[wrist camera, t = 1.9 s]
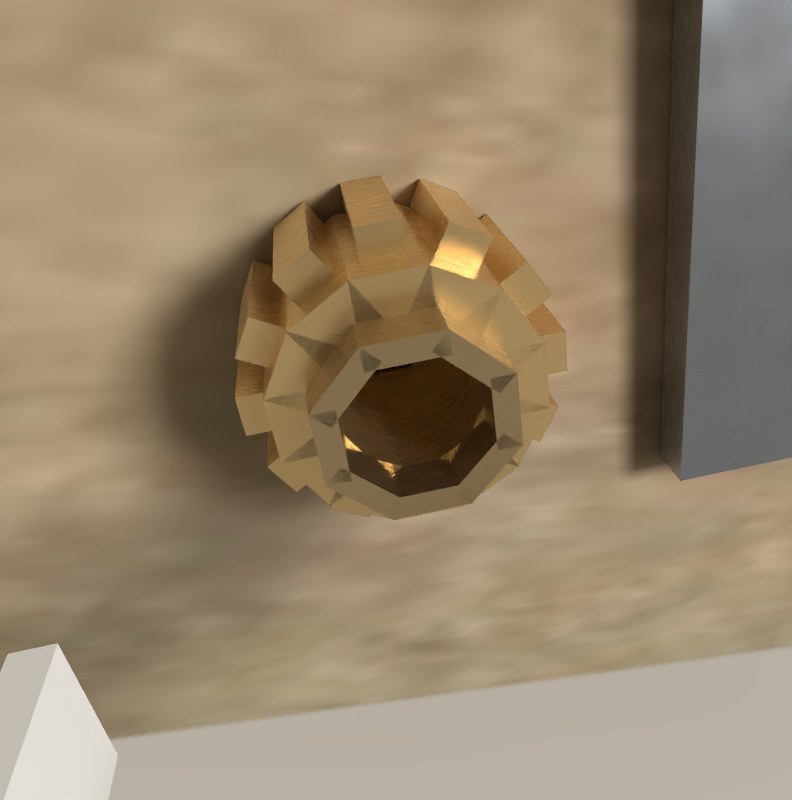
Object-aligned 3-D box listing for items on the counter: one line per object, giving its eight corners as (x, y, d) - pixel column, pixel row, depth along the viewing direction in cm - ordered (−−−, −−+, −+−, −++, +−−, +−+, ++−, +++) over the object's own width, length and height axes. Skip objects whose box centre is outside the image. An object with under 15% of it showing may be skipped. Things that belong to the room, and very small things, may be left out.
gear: (206, 208, 20) (180, 297, 14) (511, 150, 20) (595, 215, 15) (279, 461, 24) (279, 602, 19) (530, 409, 24) (601, 533, 19)
